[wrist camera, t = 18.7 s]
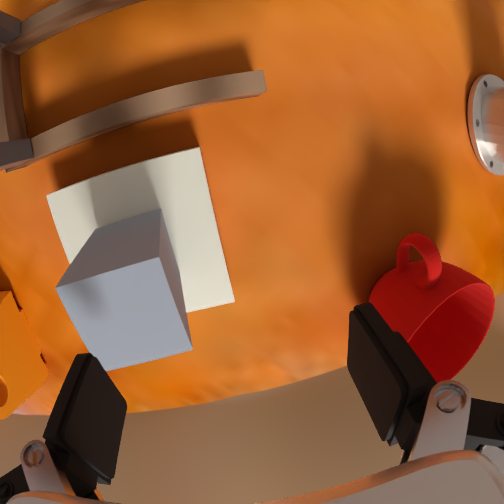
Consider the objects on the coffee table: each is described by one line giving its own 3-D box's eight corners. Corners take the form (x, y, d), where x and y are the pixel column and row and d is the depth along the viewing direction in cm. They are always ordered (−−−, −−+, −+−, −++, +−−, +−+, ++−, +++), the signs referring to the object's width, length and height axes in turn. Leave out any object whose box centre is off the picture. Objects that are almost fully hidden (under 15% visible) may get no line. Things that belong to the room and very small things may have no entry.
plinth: (199, 146, 21) (199, 147, 18) (231, 286, 26) (234, 301, 23) (59, 188, 20) (46, 195, 17) (106, 313, 25) (100, 329, 22)
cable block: (161, 208, 19) (159, 256, 11) (179, 272, 22) (193, 349, 13) (95, 228, 19) (55, 287, 10) (118, 289, 21) (101, 371, 13)
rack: (231, -29, 15) (236, -47, 12) (258, 96, 20) (266, 90, 17) (10, 46, 13) (-7, 41, 11) (25, 166, 18) (6, 172, 15)
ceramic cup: (420, 181, 25) (497, 210, 16) (439, 303, 32) (488, 347, 23) (309, 244, 25) (365, 306, 16) (357, 358, 32) (395, 418, 23)
